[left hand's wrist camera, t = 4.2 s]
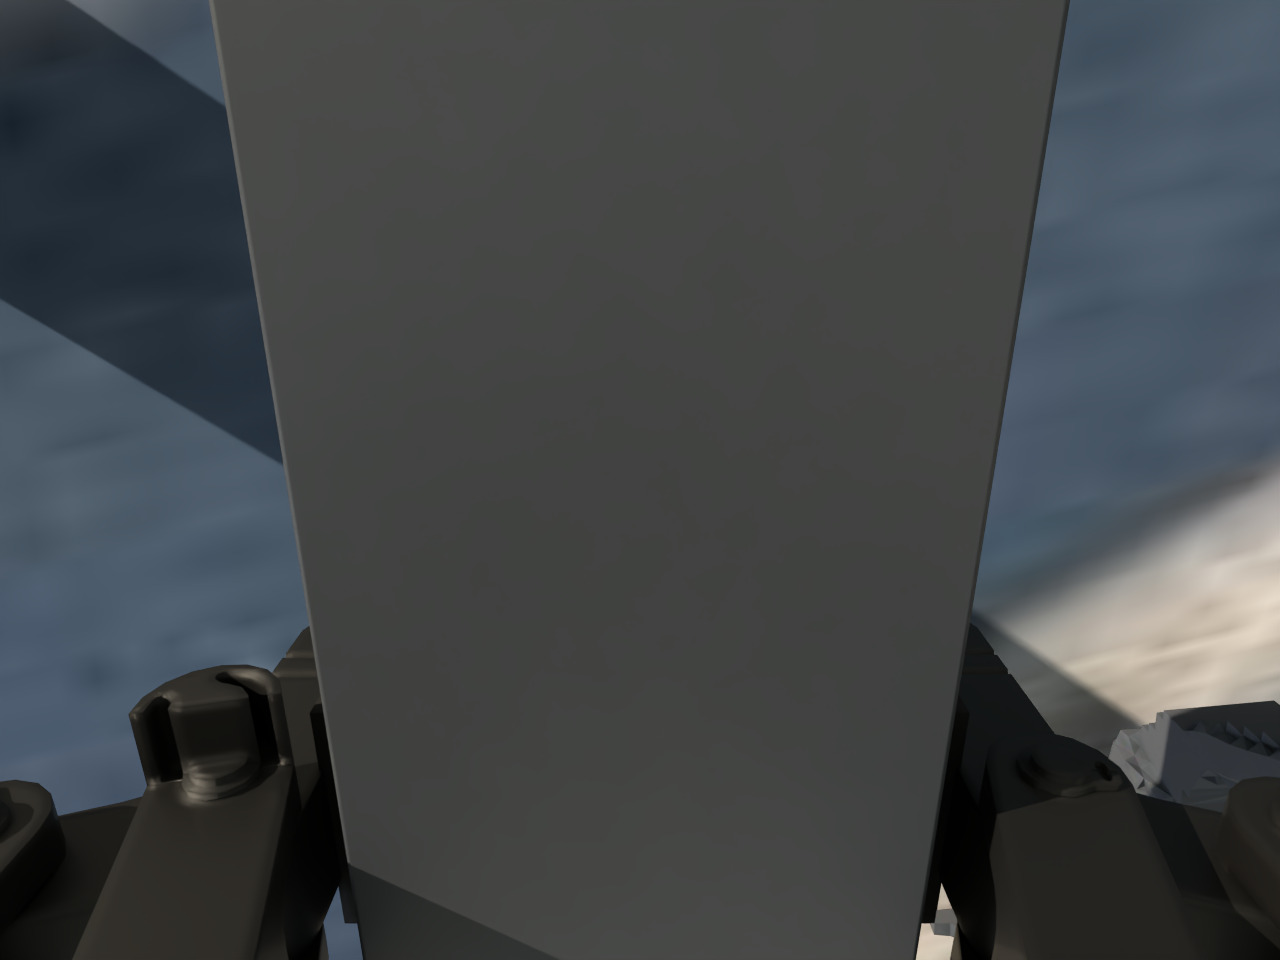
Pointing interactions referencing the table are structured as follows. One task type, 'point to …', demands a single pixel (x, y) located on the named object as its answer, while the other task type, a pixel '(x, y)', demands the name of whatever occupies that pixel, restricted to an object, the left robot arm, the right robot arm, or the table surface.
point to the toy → (1190, 759)
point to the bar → (639, 445)
